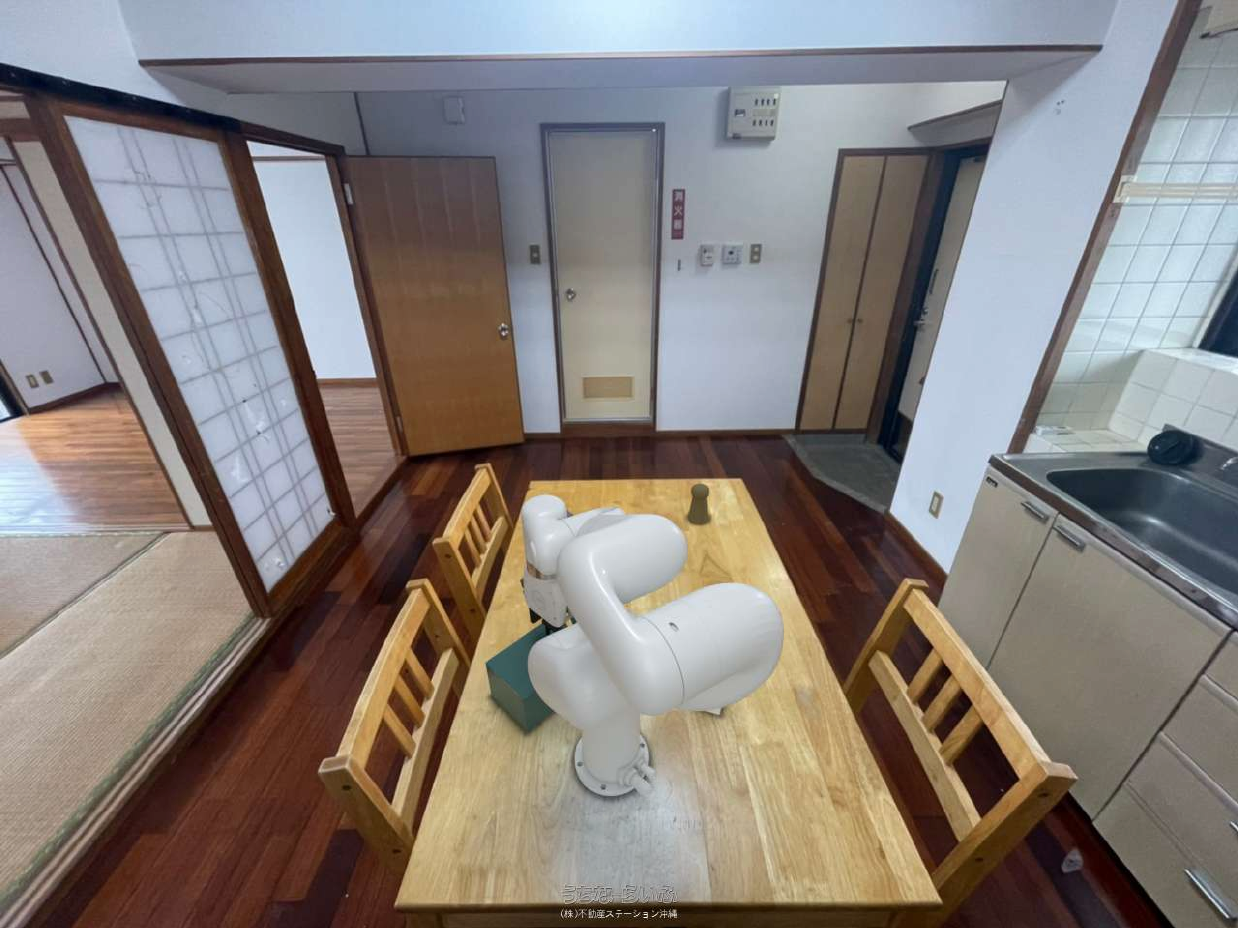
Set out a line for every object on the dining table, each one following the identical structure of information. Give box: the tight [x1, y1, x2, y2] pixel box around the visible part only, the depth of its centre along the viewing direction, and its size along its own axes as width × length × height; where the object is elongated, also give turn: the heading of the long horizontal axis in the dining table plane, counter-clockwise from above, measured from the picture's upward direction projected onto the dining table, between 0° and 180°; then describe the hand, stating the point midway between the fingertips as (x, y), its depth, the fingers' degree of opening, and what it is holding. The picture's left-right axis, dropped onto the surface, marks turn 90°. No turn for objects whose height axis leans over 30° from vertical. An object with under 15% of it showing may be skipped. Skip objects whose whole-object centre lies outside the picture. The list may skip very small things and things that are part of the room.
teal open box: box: [485, 665, 554, 733], centre depth 98 cm, size 14×11×8 cm
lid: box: [484, 618, 562, 701], centre depth 95 cm, size 14×11×5 cm
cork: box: [687, 483, 710, 525], centre depth 150 cm, size 6×6×11 cm
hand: (554, 632), depth 99 cm, fingers open, 9 cm apart
